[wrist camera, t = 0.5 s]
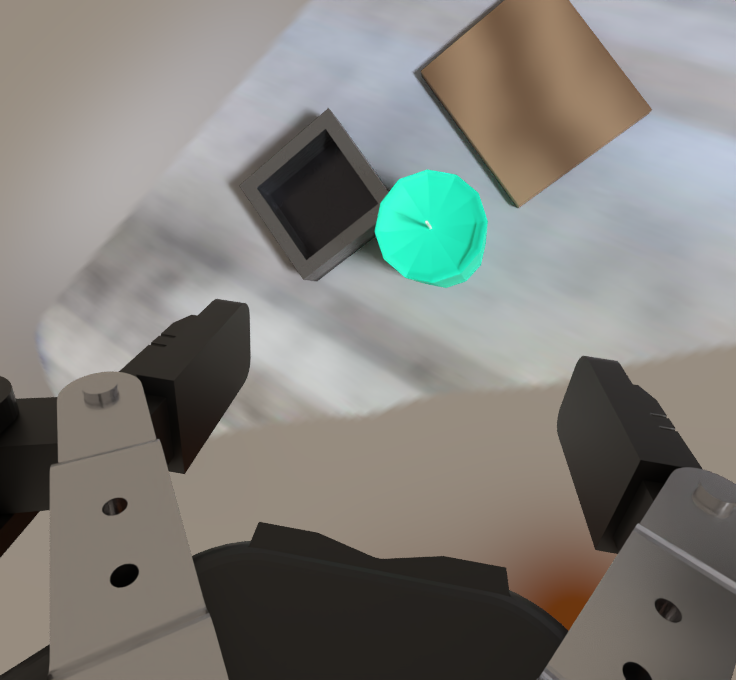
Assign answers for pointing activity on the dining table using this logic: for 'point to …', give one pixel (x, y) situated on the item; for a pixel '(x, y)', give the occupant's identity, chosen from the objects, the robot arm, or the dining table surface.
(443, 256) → the candle
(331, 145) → the box
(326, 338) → the dining table surface
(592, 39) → the walnut board
